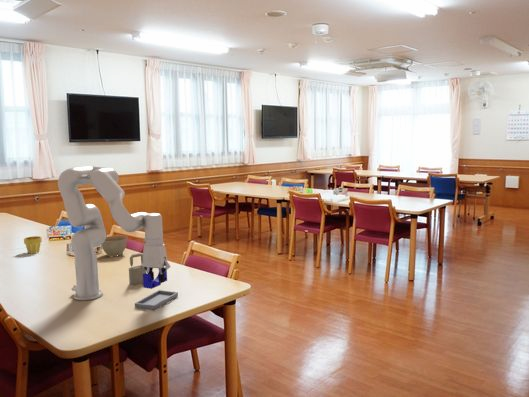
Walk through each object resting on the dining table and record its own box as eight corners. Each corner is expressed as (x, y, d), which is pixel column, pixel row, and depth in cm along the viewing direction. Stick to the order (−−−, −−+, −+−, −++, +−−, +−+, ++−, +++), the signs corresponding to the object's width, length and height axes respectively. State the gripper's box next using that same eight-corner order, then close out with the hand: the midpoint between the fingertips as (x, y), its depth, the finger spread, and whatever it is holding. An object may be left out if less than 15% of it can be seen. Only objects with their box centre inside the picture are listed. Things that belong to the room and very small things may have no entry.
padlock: (128, 283, 226) (127, 254, 224) (143, 280, 232) (142, 251, 230) (132, 285, 223) (130, 256, 221) (147, 281, 229) (146, 253, 227)
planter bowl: (101, 253, 289) (100, 236, 288) (127, 251, 294) (126, 234, 292) (100, 259, 274) (99, 242, 272) (128, 257, 279) (127, 239, 277)
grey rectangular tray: (134, 307, 194) (134, 303, 193) (159, 294, 210) (158, 289, 210) (154, 310, 190) (154, 306, 190) (177, 296, 207) (177, 292, 206)
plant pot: (45, 251, 295) (44, 237, 294) (30, 255, 286) (29, 240, 285) (36, 249, 301) (35, 235, 299) (21, 253, 292) (20, 238, 291)
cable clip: (151, 288, 193) (150, 275, 192) (143, 287, 195) (142, 274, 194) (169, 281, 203) (169, 268, 202) (162, 279, 205) (161, 267, 204)
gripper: (132, 242, 196) (135, 282, 198) (166, 244, 190) (168, 286, 192) (143, 238, 203) (145, 277, 205) (175, 240, 197) (177, 280, 199)
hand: (156, 281), depth 199 cm, fingers closed on cable clip, 4 cm apart
